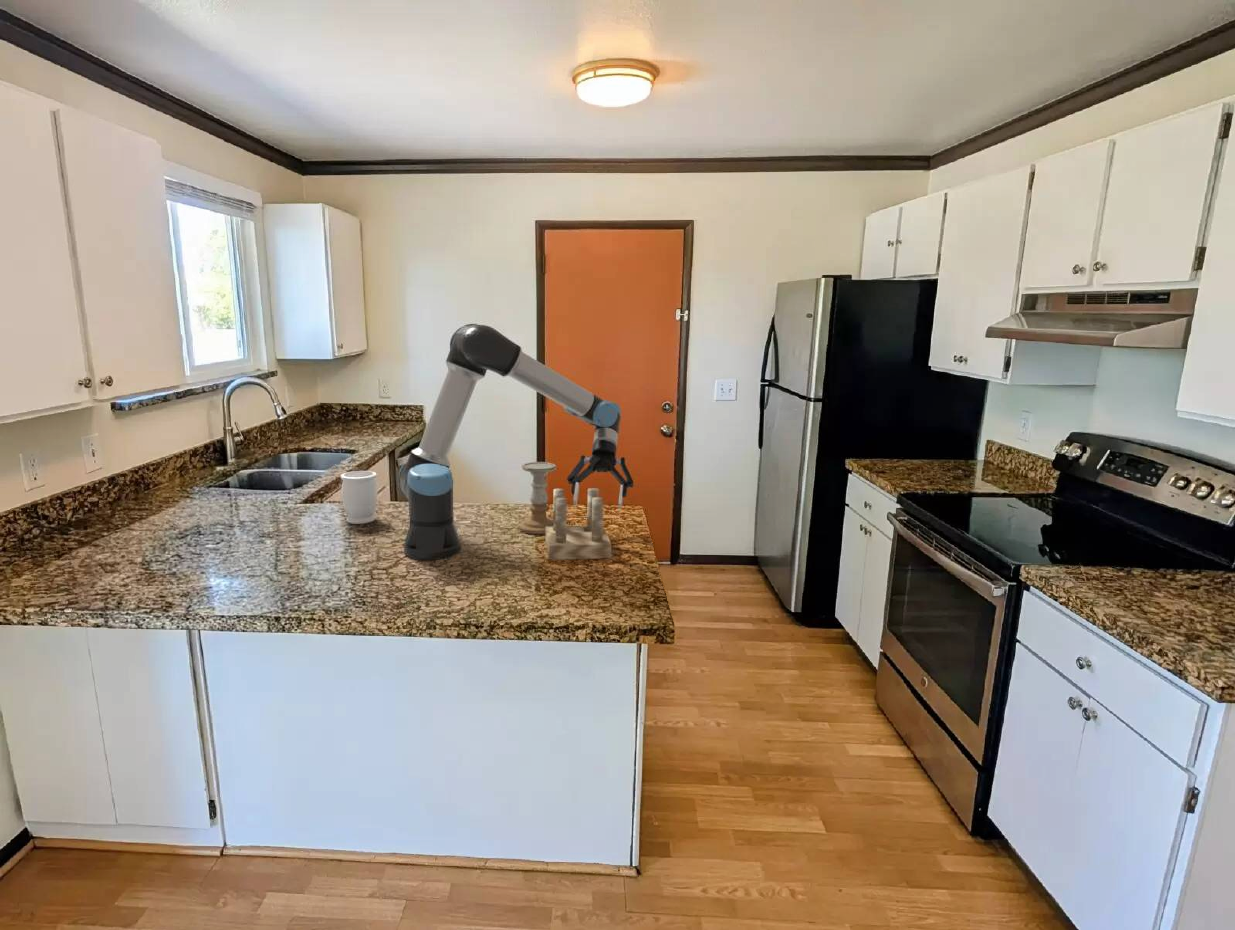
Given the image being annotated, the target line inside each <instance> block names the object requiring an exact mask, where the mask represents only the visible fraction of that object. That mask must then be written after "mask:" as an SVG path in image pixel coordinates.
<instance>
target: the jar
mask: <svg viewBox="0 0 1235 930" xmlns="http://www.w3.org/2000/svg"><path fill="white" fill-rule="evenodd" d="M376 478H377V473H376V472H375V471H369V470H353V471H348V472H344V473H342V474H340V479H341V480H342V482H341V483H342V484H341V499H342V504H343V508H344V512H345V514H346V515H347V518H346V522H347V523H349V524H352V525H353V524H354V525H362V524H363V525H364V524H368V523H369V524H370V523H372V522H373V521H375V520H376V517H375V515H374V513H375V512H376V509H377V503H378V502H377V501H378V485H377V482H376Z"/></svg>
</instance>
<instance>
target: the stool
mask: <svg viewBox="0 0 1235 930" xmlns="http://www.w3.org/2000/svg"><path fill="white" fill-rule="evenodd" d="M552 494H553V496H552V497H553V501H552V502H553V505H552V506H553V507H552V510H553V511H552V513H553V515H552V520H553V526H546V528H545V534H544V535H545V539H544V540H545V545H546V550H547V557H548V560H549V561H551V560H552V561H553V560H556V561H557V560H582V559H583V560H584V559H585V560H588V559H589V560H590V559H611V558H612V543H611V540H610V539H609V536H608V534H607V532H606V529H605V528H604V525H603V524H604V498H603V497H601V496H599V497H594V498H592V532H587V525H567V523H568V522H567V519H568V512H567V511H568V498H566V497H565V489H563V488H554V489H553V493H552Z"/></svg>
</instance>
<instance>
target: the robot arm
mask: <svg viewBox="0 0 1235 930" xmlns="http://www.w3.org/2000/svg"><path fill="white" fill-rule="evenodd" d="M445 364H446V367H447V373H446V375H445V378H444V380H443V383H442V386H441V388H440V390H439V394H438V395H437V398H436V400H435V401H436V402H435V404H434V406H433V409H432V411H431V415H430V417H429V419H428V423H427V424H426V427H425V430H424V432H423V434H422V437H421V440H420V442H419V446H418V447H415V448H413V449H411V451H410V453H409V456H408V459H407V461H406V462H405V463H403V465H402V467H401V468H400V470H399V473H398V477H397V478H398V484H399V485H398V486H399V489H400V491H402V493H403V495H404V496H405V497H406V499H407V500H408V510H409V511H408V512H409V513H408V514H409V526H408V530H407V533H406V536H405V540H404V543H403V553H404V555H405V556H406V557H408V558H410V559H414V560H421V561H423V560H424V561H425V560H426V561H428V560H429V561H431V560H432V561H433V560H440V559H441V560H442V559H446V558H449V557H450V558H451V557H453V556H455V555H457V554H459V553H460V552H461V545H462V543H461V539H460V536H459V533H458V530H457V528H456V526H455V525H456V524H455V523H454V522H455V521H454V478H453V473H452V471H451V469H450V467H451V462H450V460H449V458H448V457H449V455H450V452H451V450H452V447H453V444H454V441H455V439H456V437H457V433H458V431H459V429H460V427H461V423H462V422H463V421H462V420H463V418H464V417H465V413H466V410H467V408H468V405H469V403H470V400H471V397H472V395H473V393H474V390H475V387H476V384H477V382H478V381H480V380H482V379H484V378H485V376H486V374H487V371H490V372H493V373H494V374H495V373H496V374H498V375H500V376H501V377H503V378H506V377H511V378H512V379H514V380H516V381H517V382H520V383H521V384H523V385H525V386H527V387H528V388H530V389H532V390H533V391H536V392H537V393H539V394H541V395H542V396H544V397H546V398H548V399H550V400H552V401H553V402H555V403H557V404H558V405H560V406H562V407H563V409H564V411H565V412H566V413H568V414H570V415H571V416H574V417H575V418H577V419H579V420H581V421H583V422H585V423H587V424H589V425H590V426H593V427H594V434H593V435H594V437H593V445H592V451H591V455H590V456H589V457H587V456H585V454H584V455H583V454H582V455H581V456H580V458H579V461H578V463H577V464H576V465H575V467H574V468H573V469H572V471H571V472H570V474H569V475H568V476H567V478H566V480H567V483H568V484H569V485H571V495H573V500H572V502H573V506H577V504H578V499H579V490H580V484H581V483H582V482H583V481H584V480H585V479H587V478H588V477H589V476H590V475H591V474H594V473H595V472H597V473H602V472H603V473H607V472H609V473H610V474H611V475H612V476H613V477H614V478H615V479H616V481H617V482H618V483H619V484H620V488H619V496H618V497H619V498H618V508H619V509H621V508H622V506H623V498H626V497H627V493H628V488H634V480H633V478H632V476H631V474H630V472H629V469H628V467H627V465H626V458H625V457H623V456H622V457H621V458H619V459H617V457H616V456H617V448H618V447H617V446H618V439H619V438H618V437H619V431H620V423H621V418H622V417H621V413H622V412H621V407H620V405H619V404H618V403H616V402H614V401H610V400H604V399H602V398H600V397H599V396H597V395H596V394H593V393H592V392H590V391H589V390H588V389H586V388H584V387H582V386H580V385H578V384H577V383H575V382H573V380H570V379H569V378H567V377H565V376H564V375H562V374H560V373H559V372H557V371H555V370H553V369H551V367H548V366H547V365H545V364H543V363H542V362H540V361H539V360H536V359H535V358H533V357H531V356H530V355H528V354H526V353H524V352H523V348H522V347H521V346H520V345H518V344H517V343H515V342H514V341H512V340H510V339H509V338H508V337H507V336H505V335H503V334H502V333H501V332H500V331H498V330H497V329H496V328H493V327H491V326H489V325H486V324H477V323H468V324H464V325H462V326H460V327H458V328H457V329H456V330H455V331H454V332H453V333H452V335H451V338H450V341H449V352H448V354H447V358H446V359H445ZM588 463H589V464H588ZM587 464H588V466H587V467H586V468H585V469H584V467H585V466H586V465H587ZM616 465H618V466H619V467H620V468H621V471H622V472H623V475H624V477H625V478H624V477H623V476H622V474H621V473H620V472H619V471H618V469H617V468H616V467H615V466H616ZM583 469H584V470H583Z"/></svg>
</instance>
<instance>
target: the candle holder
mask: <svg viewBox="0 0 1235 930" xmlns="http://www.w3.org/2000/svg"><path fill="white" fill-rule="evenodd" d="M521 469H522V470H523V471H525V472H529V473H530V475H531V476H532V481H531V482H530V485H531V486H532V490H531V494H530V496H529V501H530V503H531V504H530V505H529V509H528V510H530V511H531V516H530V517H527V518H525V519H524V520H522V521H520V523H518V529H519V531H520V532H522V533H525V534H528V535H545V528H546V526H553V518H550V517H547V511H548V510H549V506H548V505H547V502H548V500H549V498H548V495H547V491H546V486H547V485H548V482H546V479H545V477H546V476H547V475H548V473H549V472H553V471H555V470H557V465H556V464H554V463H552V462H547V461H546V462H545V461H533V462H525V463H523V464H522V465H521Z"/></svg>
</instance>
